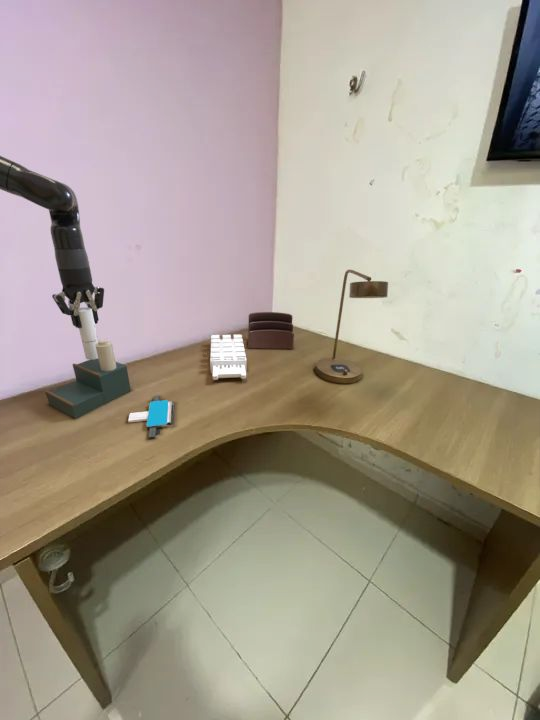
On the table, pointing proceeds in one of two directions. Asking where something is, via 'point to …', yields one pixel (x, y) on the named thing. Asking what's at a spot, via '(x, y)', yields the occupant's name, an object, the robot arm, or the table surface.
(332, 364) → the lamp
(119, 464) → the table surface
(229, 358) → the organizer
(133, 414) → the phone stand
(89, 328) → the tube
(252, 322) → the letter holder
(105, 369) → the cream capped cylinder
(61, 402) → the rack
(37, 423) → the table surface
